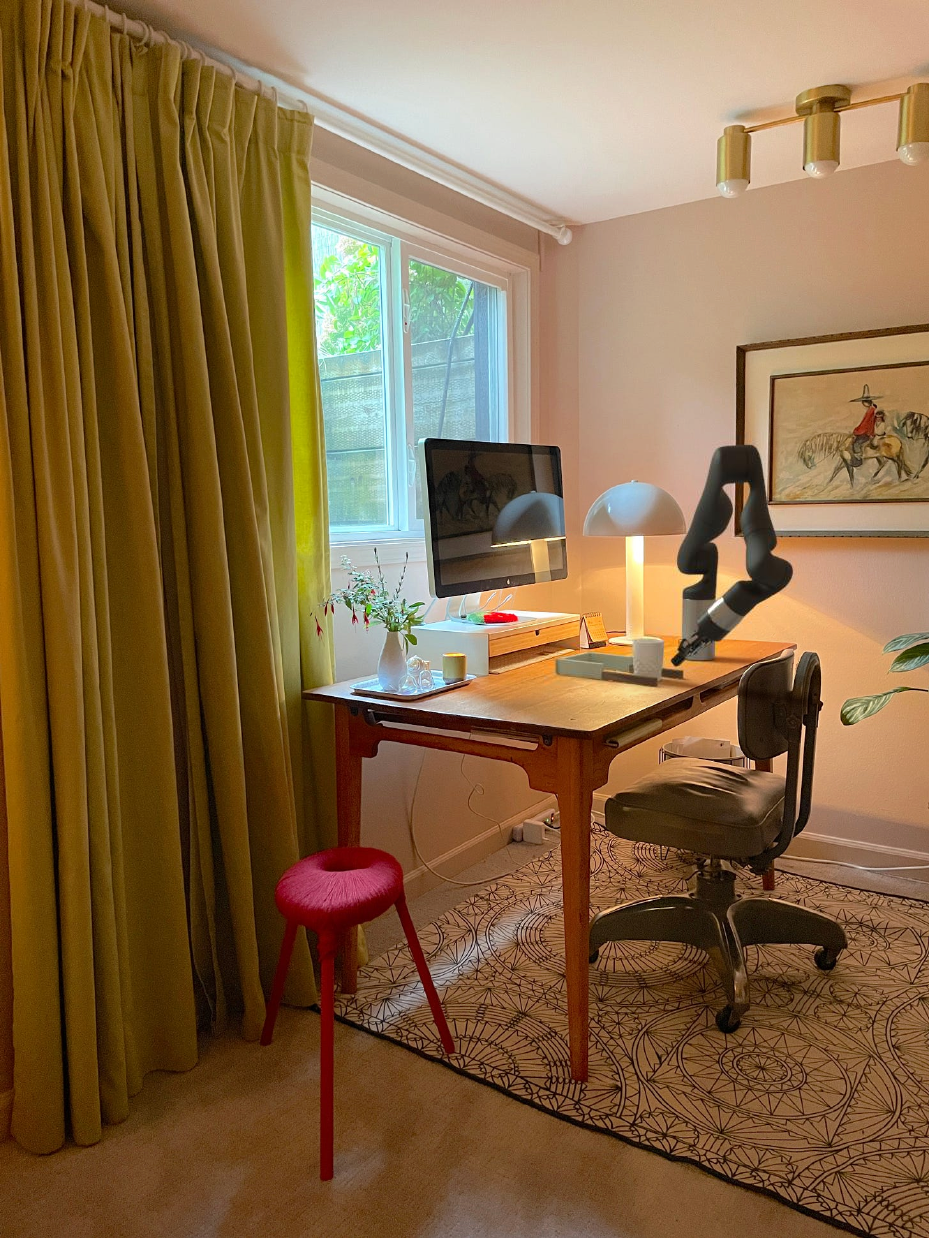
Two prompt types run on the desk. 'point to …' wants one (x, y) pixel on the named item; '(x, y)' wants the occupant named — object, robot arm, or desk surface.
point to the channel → (638, 678)
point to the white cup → (648, 657)
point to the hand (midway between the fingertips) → (674, 663)
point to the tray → (592, 664)
